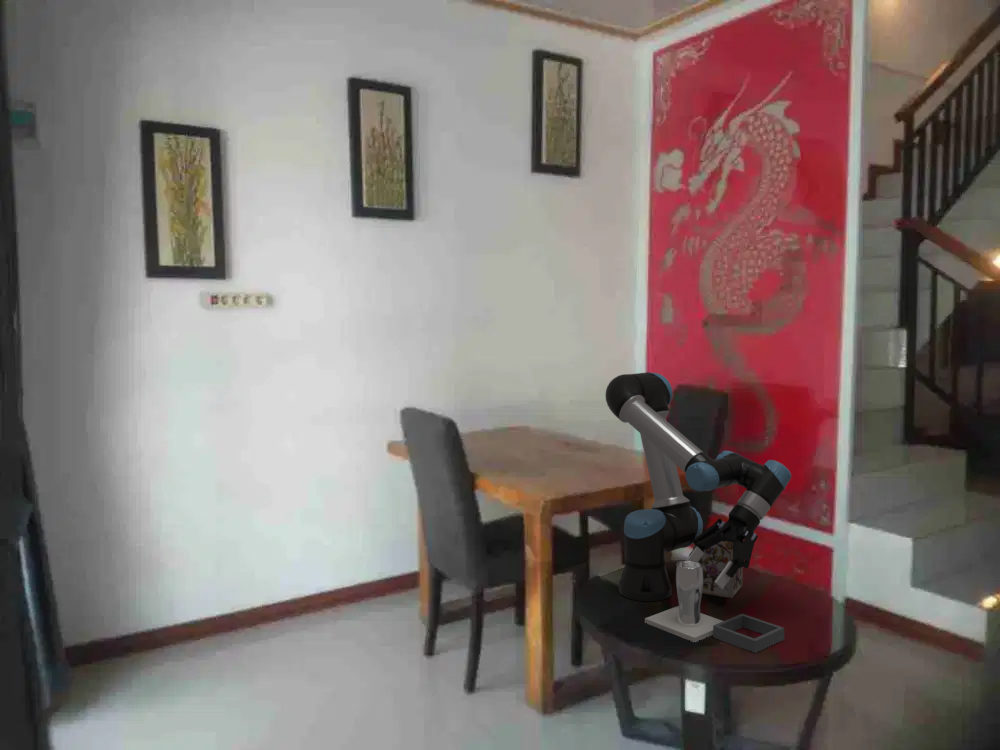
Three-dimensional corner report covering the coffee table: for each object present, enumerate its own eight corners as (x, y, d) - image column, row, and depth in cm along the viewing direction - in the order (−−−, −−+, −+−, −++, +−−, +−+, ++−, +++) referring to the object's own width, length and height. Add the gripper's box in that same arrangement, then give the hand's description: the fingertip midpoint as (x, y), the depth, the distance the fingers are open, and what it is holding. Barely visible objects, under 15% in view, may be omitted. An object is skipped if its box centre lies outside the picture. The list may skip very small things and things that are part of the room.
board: (644, 622, 195) (644, 618, 195) (679, 609, 203) (679, 605, 203) (694, 642, 182) (694, 637, 182) (729, 627, 191) (729, 623, 191)
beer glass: (704, 627, 188) (704, 569, 187) (676, 626, 189) (676, 568, 188) (702, 617, 195) (701, 560, 194) (674, 615, 196) (674, 560, 195)
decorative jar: (743, 586, 220) (743, 527, 219) (733, 599, 210) (733, 536, 209) (703, 580, 227) (703, 522, 225) (691, 592, 217) (691, 531, 216)
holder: (713, 637, 185) (713, 625, 185) (742, 625, 192) (742, 613, 192) (755, 653, 176) (755, 641, 175) (784, 639, 183) (784, 627, 183)
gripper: (791, 532, 185) (742, 601, 181) (726, 510, 208) (682, 571, 204) (773, 514, 183) (724, 584, 179) (710, 494, 206) (665, 554, 202)
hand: (701, 577), depth 191 cm, fingers open, 13 cm apart
